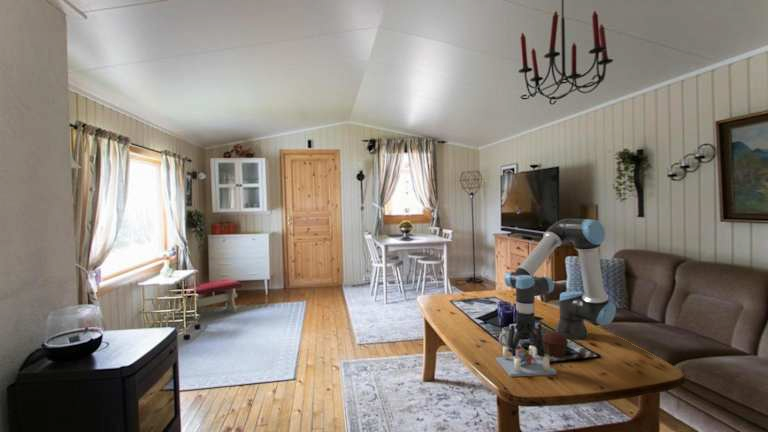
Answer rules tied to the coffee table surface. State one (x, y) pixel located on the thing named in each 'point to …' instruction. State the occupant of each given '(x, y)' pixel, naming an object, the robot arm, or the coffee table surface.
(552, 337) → the muffin
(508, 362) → the peg board
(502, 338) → the cup
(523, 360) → the geometric puzzle
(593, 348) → the coffee table surface
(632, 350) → the coffee table surface
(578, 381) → the coffee table surface
